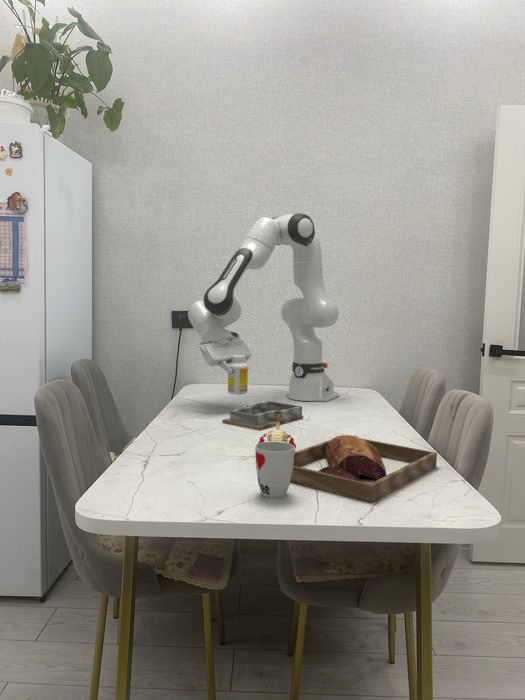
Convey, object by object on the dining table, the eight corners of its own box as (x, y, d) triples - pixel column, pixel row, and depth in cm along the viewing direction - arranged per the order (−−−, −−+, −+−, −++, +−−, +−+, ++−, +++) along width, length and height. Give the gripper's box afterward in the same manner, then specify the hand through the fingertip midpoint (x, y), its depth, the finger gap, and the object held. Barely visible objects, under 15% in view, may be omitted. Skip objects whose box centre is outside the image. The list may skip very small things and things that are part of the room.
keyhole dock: (267, 412, 206) (267, 400, 206) (303, 418, 197) (303, 406, 197) (222, 422, 188) (222, 410, 188) (259, 430, 179) (260, 417, 179)
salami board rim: (343, 447, 161) (343, 435, 160) (436, 466, 145) (436, 452, 144) (268, 476, 135) (268, 461, 135) (371, 503, 119) (372, 486, 119)
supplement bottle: (248, 392, 207) (249, 355, 205) (246, 395, 200) (246, 357, 199) (229, 391, 207) (229, 354, 206) (226, 394, 201) (226, 356, 199)
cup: (253, 487, 127) (253, 441, 126) (290, 487, 128) (292, 441, 127) (255, 501, 119) (256, 451, 118) (296, 500, 120) (297, 451, 119)
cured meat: (311, 489, 127) (313, 458, 126) (307, 457, 152) (308, 430, 151) (396, 494, 126) (399, 462, 126) (378, 461, 151) (380, 434, 151)
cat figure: (259, 444, 169) (254, 462, 144) (260, 413, 169) (255, 425, 144) (295, 445, 168) (296, 463, 143) (295, 414, 168) (297, 427, 143)
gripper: (201, 336, 198) (223, 368, 193) (241, 333, 214) (262, 362, 209) (192, 349, 201) (213, 380, 196) (232, 344, 217) (252, 373, 212)
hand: (239, 371), depth 203 cm, fingers closed on supplement bottle, 7 cm apart
